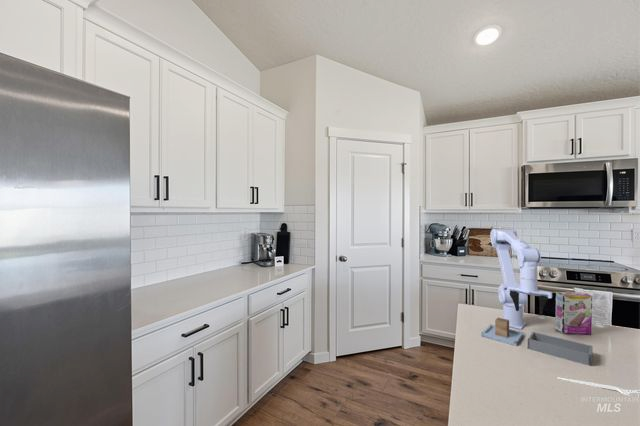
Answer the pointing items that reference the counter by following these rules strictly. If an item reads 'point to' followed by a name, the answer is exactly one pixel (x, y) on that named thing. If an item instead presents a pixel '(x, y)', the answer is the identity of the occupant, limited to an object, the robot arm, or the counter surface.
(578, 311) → the candy bar box
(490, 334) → the light blue tray
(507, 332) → the walnut block
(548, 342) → the gray rectangular bin
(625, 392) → the fork
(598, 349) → the counter surface
